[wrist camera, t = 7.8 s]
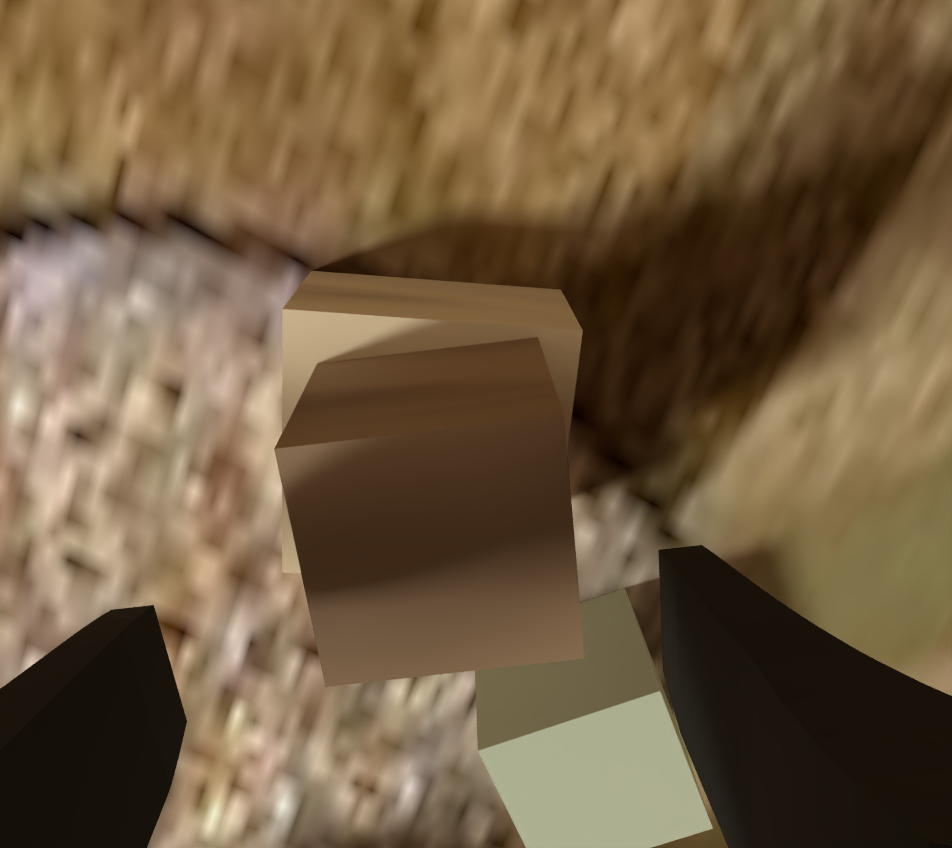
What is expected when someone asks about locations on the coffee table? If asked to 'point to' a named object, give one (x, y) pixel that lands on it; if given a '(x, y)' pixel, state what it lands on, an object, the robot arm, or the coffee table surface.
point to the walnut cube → (433, 513)
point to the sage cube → (589, 742)
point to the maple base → (416, 332)
